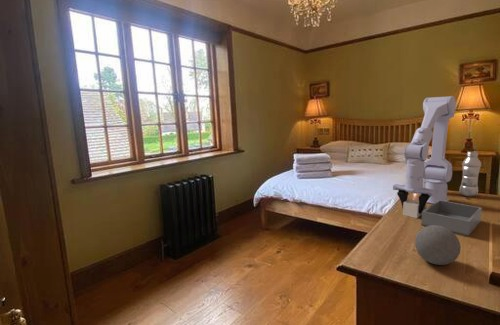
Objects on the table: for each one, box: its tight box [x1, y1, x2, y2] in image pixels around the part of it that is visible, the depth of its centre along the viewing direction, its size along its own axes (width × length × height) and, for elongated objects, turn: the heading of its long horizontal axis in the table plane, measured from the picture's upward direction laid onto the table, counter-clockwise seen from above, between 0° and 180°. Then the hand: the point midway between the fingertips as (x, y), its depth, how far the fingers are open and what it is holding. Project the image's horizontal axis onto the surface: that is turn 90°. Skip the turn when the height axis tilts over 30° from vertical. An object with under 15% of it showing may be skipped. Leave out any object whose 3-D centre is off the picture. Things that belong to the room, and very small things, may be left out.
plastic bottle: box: [459, 150, 482, 197], centre depth 126 cm, size 6×7×20 cm
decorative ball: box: [414, 225, 462, 266], centre depth 75 cm, size 10×10×10 cm
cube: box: [402, 198, 422, 219], centre depth 108 cm, size 5×5×5 cm
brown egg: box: [411, 193, 428, 211], centre depth 113 cm, size 5×5×7 cm
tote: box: [420, 200, 483, 238], centre depth 99 cm, size 17×13×5 cm
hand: (412, 211), depth 109 cm, fingers closed on cube, 5 cm apart
